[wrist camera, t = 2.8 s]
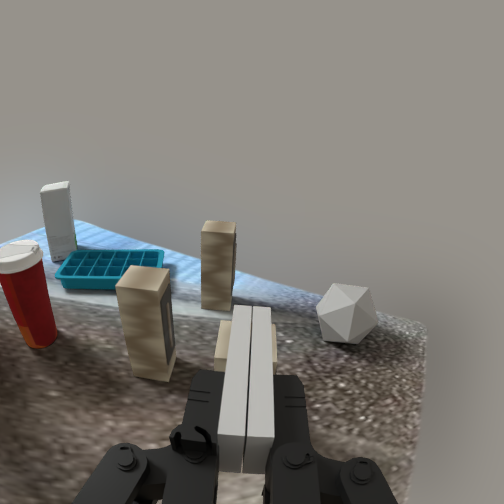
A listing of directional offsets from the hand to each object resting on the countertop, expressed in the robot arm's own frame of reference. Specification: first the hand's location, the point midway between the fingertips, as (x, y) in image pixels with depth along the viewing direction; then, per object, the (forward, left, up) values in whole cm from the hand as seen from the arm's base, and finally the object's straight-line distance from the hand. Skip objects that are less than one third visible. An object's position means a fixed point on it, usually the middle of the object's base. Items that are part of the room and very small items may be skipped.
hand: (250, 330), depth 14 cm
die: (+14, +24, -20) cm, 35 cm away
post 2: (-5, +31, -20) cm, 38 cm away
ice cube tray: (-26, +36, -20) cm, 49 cm away
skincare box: (-42, +43, -20) cm, 64 cm away
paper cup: (-30, +16, -20) cm, 40 cm away
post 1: (-11, +15, -20) cm, 27 cm away
